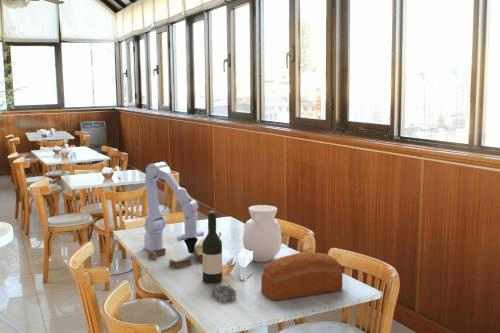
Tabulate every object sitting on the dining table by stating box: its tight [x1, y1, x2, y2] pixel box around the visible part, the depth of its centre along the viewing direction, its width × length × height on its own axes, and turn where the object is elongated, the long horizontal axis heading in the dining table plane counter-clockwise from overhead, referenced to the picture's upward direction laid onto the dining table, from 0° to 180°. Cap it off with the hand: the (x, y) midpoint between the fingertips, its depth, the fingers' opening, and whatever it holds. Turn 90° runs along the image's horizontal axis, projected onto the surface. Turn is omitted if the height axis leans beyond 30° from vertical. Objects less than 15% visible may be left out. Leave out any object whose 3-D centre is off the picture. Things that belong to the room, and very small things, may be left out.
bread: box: [260, 252, 343, 301], centre depth 233 cm, size 14×33×16 cm, turn 113°
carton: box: [192, 244, 203, 263], centre depth 277 cm, size 8×16×4 cm, turn 14°
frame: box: [148, 247, 192, 270], centre depth 271 cm, size 22×9×3 cm, turn 43°
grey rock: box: [211, 284, 238, 303], centre depth 227 cm, size 11×8×4 cm
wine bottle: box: [201, 210, 223, 285], centre depth 243 cm, size 8×8×30 cm
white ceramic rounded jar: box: [242, 204, 283, 263], centre depth 272 cm, size 19×18×25 cm
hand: (190, 252), depth 279 cm, fingers closed
